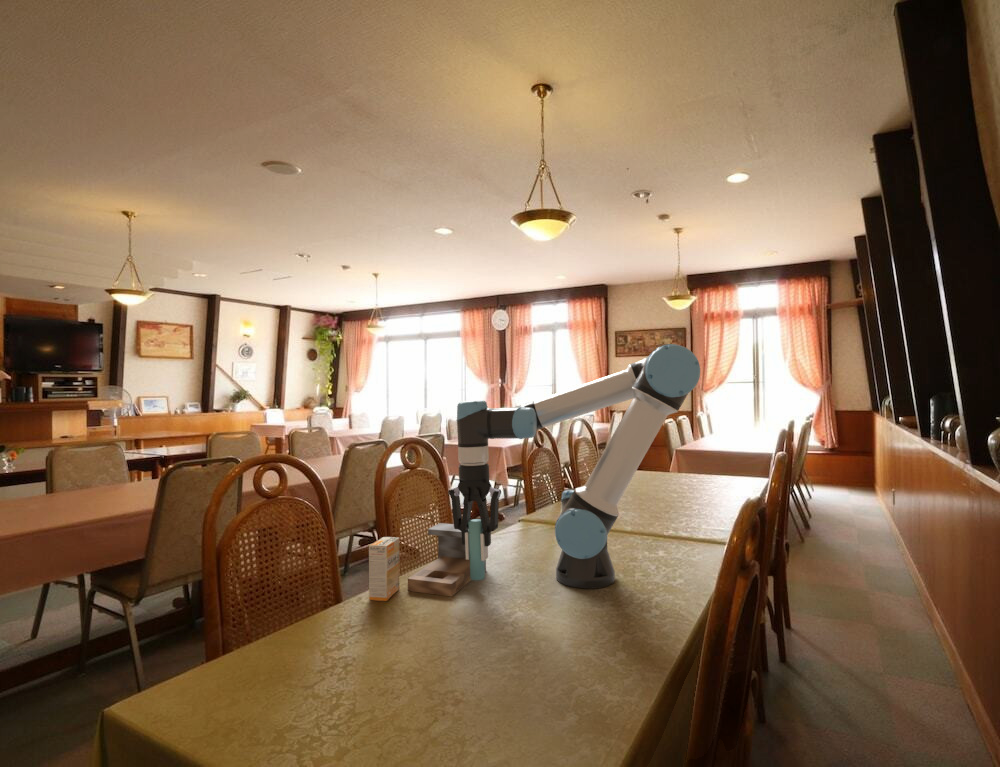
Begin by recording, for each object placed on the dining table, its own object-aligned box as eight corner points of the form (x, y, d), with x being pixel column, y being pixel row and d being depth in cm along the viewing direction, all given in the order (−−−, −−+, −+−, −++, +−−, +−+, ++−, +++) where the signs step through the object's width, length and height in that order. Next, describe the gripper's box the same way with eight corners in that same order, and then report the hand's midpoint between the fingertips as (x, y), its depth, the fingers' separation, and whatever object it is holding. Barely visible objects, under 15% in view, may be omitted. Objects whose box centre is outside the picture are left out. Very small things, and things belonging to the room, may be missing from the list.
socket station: (486, 570, 150) (485, 526, 150) (455, 596, 131) (455, 546, 131) (440, 565, 155) (439, 523, 155) (404, 590, 136) (403, 541, 136)
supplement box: (387, 601, 129) (387, 546, 129) (368, 600, 130) (367, 545, 130) (400, 589, 137) (400, 536, 137) (382, 588, 138) (382, 535, 138)
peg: (487, 576, 136) (485, 519, 136) (481, 581, 132) (479, 523, 133) (473, 574, 137) (471, 518, 137) (468, 579, 134) (466, 522, 134)
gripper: (510, 461, 136) (513, 556, 135) (449, 460, 141) (453, 551, 141) (499, 465, 129) (503, 565, 128) (436, 464, 134) (440, 560, 134)
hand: (477, 558), depth 135 cm, fingers closed on peg, 3 cm apart
